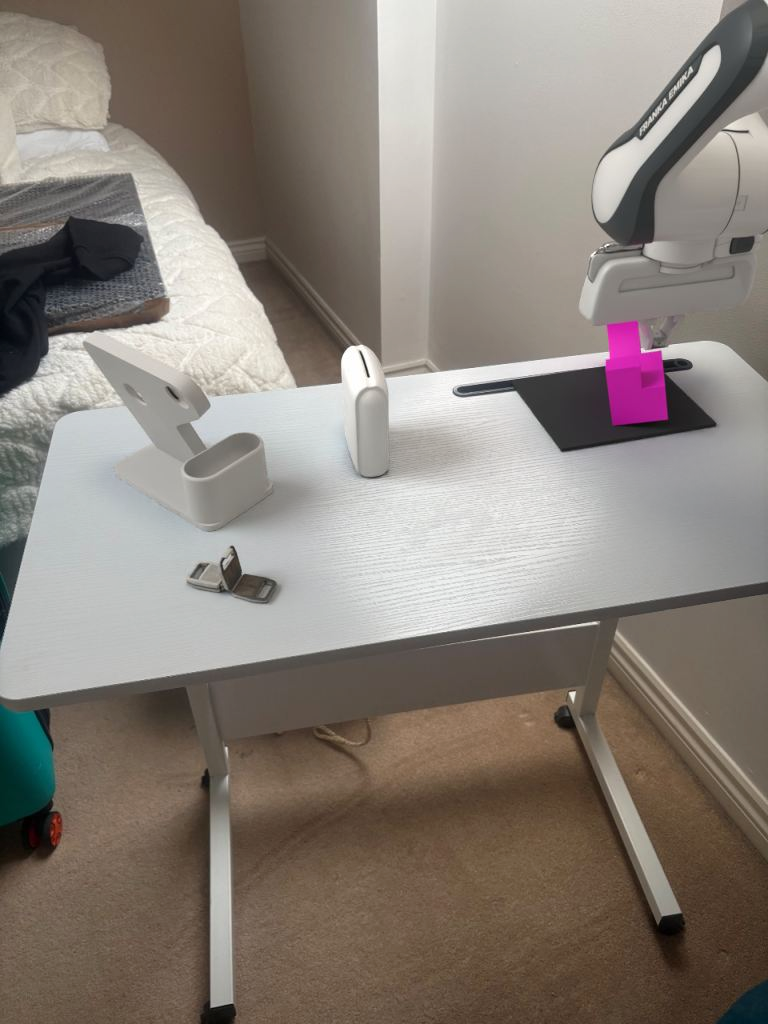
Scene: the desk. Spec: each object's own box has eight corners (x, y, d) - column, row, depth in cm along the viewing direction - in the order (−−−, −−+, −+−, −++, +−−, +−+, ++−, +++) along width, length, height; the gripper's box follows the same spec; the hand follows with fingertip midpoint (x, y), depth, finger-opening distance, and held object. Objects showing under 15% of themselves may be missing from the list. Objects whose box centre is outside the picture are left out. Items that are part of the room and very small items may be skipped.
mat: (650, 362, 112) (650, 359, 111) (715, 426, 100) (716, 422, 99) (510, 383, 108) (510, 379, 107) (561, 452, 96) (562, 448, 95)
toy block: (667, 419, 97) (663, 363, 93) (612, 425, 99) (605, 370, 95) (662, 357, 108) (657, 304, 104) (612, 364, 110) (606, 312, 106)
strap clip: (184, 586, 79) (176, 553, 77) (199, 565, 82) (192, 533, 79) (266, 606, 77) (261, 573, 74) (279, 584, 79) (274, 551, 77)
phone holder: (281, 489, 91) (264, 341, 79) (211, 537, 85) (182, 384, 73) (178, 434, 99) (149, 293, 88) (107, 473, 93) (67, 327, 82)
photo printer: (341, 430, 100) (336, 337, 92) (376, 426, 100) (374, 333, 92) (355, 481, 92) (351, 383, 84) (393, 476, 92) (392, 379, 85)
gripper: (604, 255, 87) (585, 371, 96) (776, 235, 91) (742, 348, 100) (579, 233, 92) (563, 345, 100) (743, 215, 95) (714, 324, 104)
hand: (653, 346), depth 100 cm, fingers closed
